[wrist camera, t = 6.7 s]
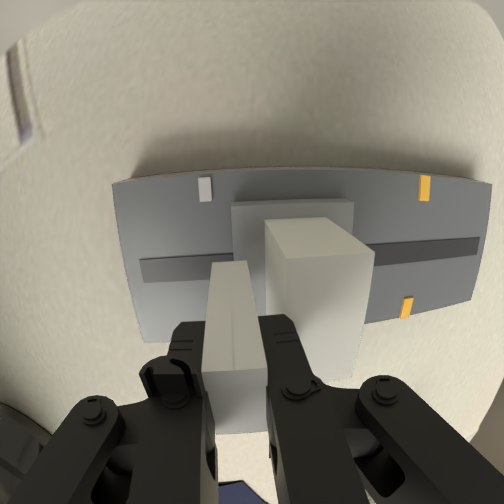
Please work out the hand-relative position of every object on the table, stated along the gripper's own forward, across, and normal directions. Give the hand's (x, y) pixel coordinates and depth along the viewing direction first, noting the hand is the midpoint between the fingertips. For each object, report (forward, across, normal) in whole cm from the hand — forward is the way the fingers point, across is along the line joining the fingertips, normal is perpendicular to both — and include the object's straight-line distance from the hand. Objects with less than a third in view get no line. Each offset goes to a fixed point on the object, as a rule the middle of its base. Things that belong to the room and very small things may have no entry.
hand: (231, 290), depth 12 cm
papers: (+6, -12, -50) cm, 52 cm away
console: (+6, +7, 0) cm, 9 cm away
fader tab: (+3, +3, 0) cm, 4 cm away
